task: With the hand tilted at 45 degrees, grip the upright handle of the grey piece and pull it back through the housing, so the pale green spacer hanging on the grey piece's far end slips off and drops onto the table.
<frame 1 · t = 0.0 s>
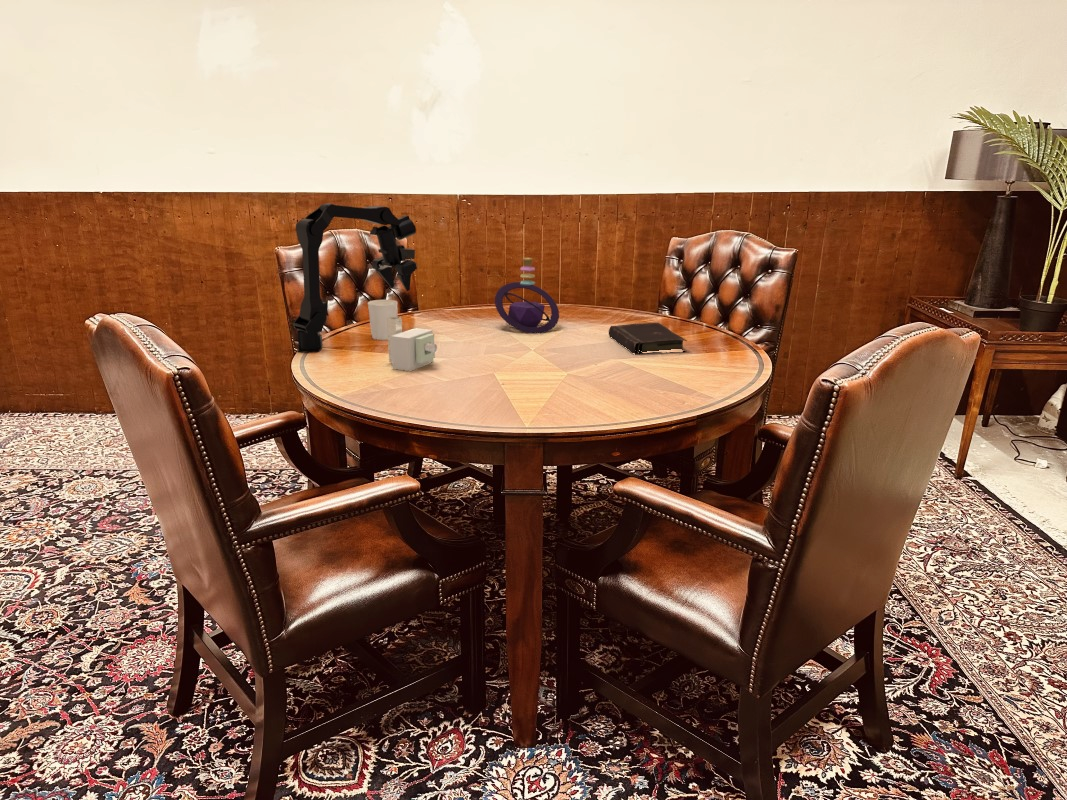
hand: (400, 289, 244), 15 cm above the table, tool pointing down, fingers open, 9 cm apart
spacer: (425, 360, 207), point 2 cm above the table, touching grey piece
candle holder: (384, 338, 243), on the table
decorative bottle: (526, 328, 259), on the table
grey piece: (412, 342, 208), point 7 cm above the table, slide at 0.0 cm, touching spacer
diary: (646, 346, 238), on the table
housing: (413, 365, 210), on the table
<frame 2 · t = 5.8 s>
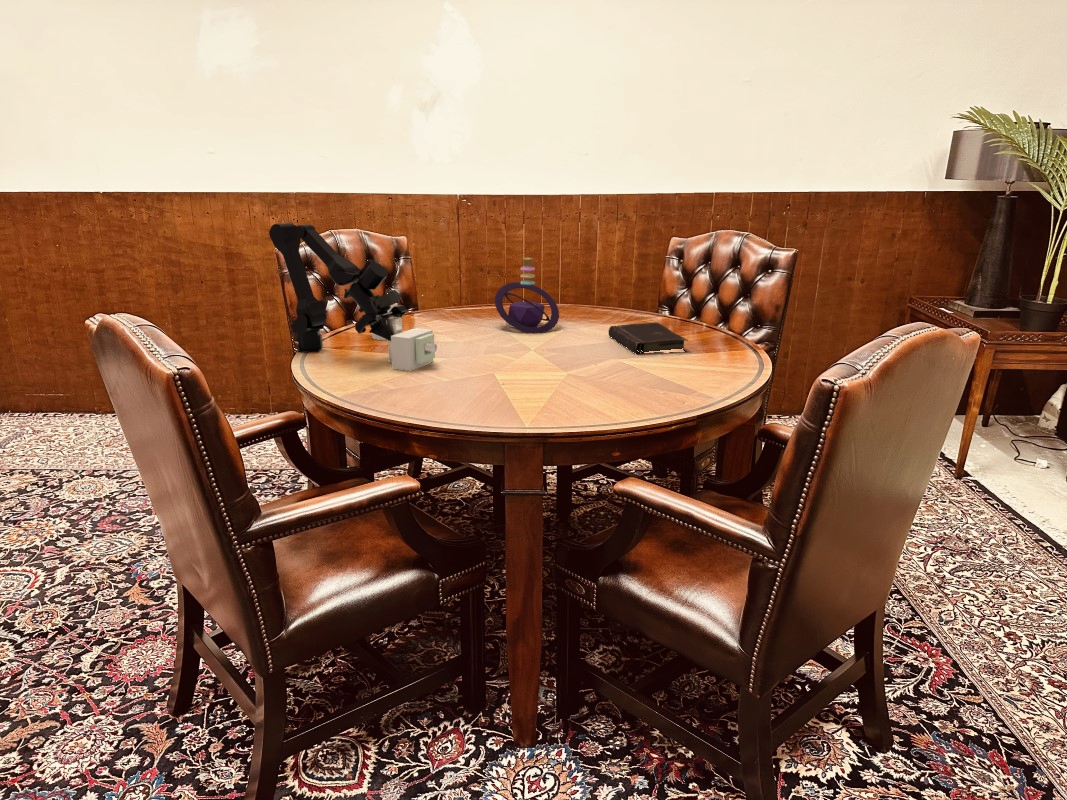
hand: (399, 340, 209), 7 cm above the table, tool tilted 45°, fingers closed on grey piece, 3 cm apart
grey piece: (412, 342, 208), point 7 cm above the table, slide at 0.0 cm, touching gripper, spacer
everything else where it was.
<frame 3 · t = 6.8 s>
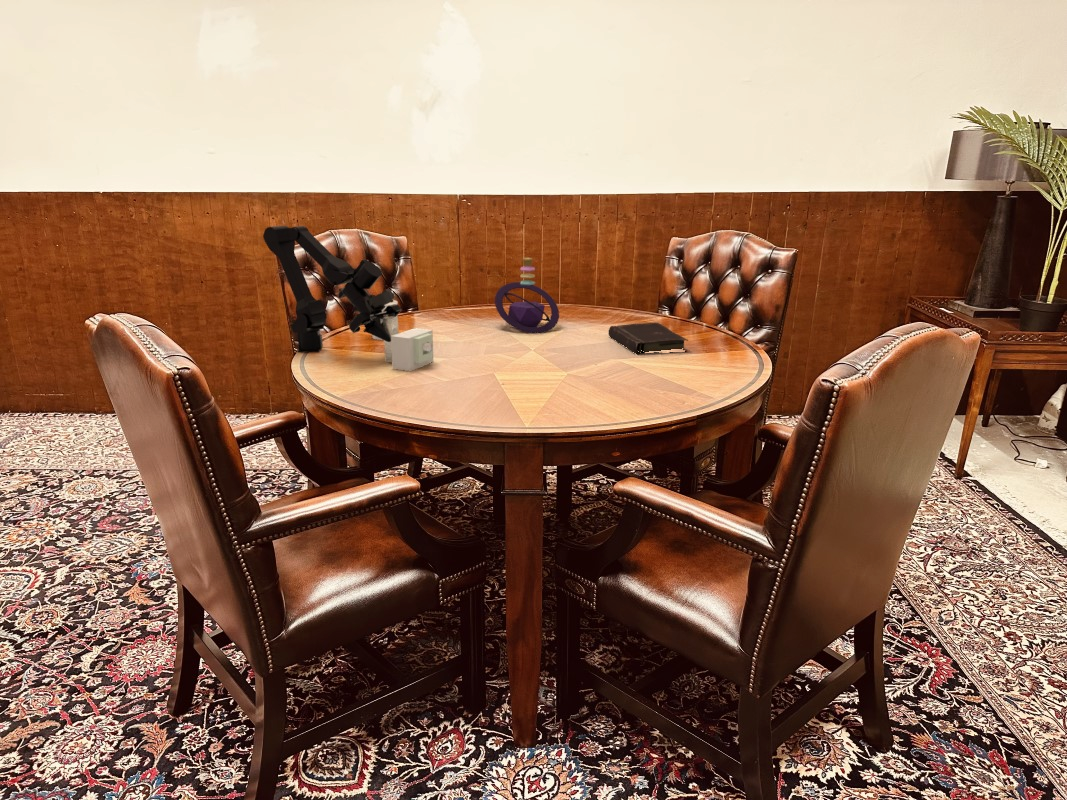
hand: (393, 340, 210), 7 cm above the table, tool tilted 45°, fingers closed on grey piece, 3 cm apart
spacer: (424, 359, 207), point 2 cm above the table, touching housing, grey piece
grey piece: (408, 341, 208), point 7 cm above the table, slide at 1.4 cm, touching gripper, spacer
everything else where it was.
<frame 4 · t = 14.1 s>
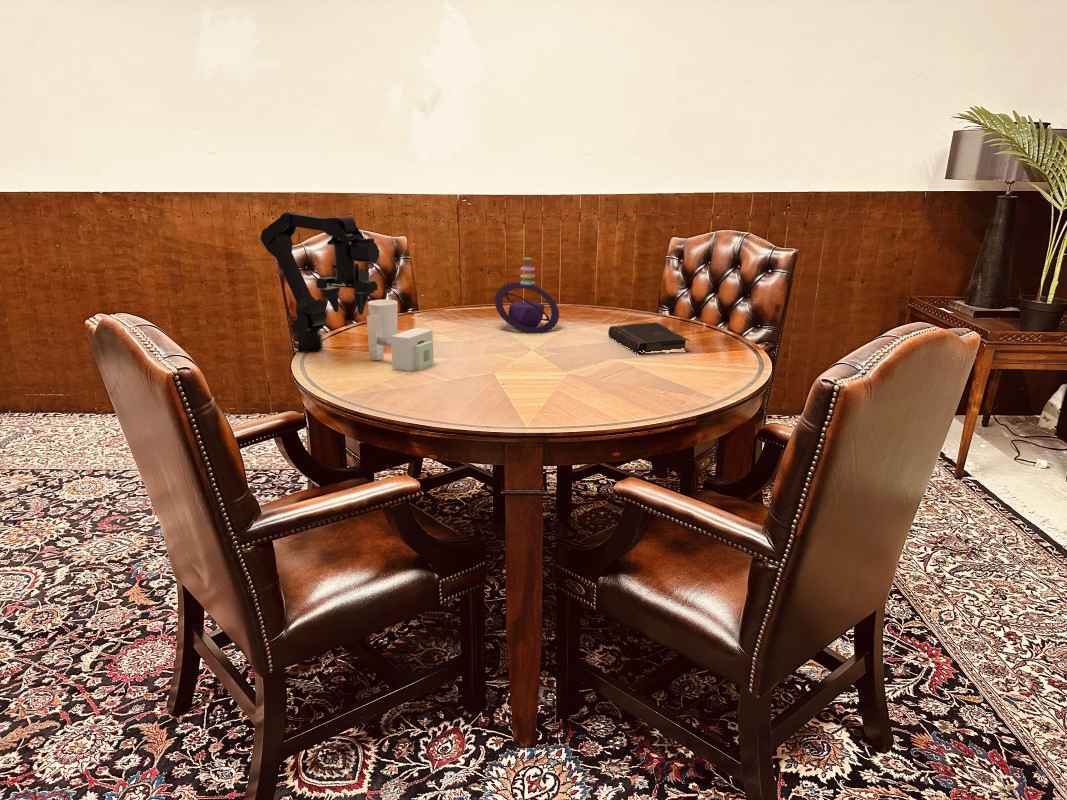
hand: (348, 313, 216), 13 cm above the table, tool pointing down, fingers open, 9 cm apart
spacer: (424, 367, 208), on the table
grey piece: (391, 339, 211), point 7 cm above the table, slide at 7.3 cm
everything else where it was.
at the end: grey piece slide at 7.3 cm; spacer touching table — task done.
